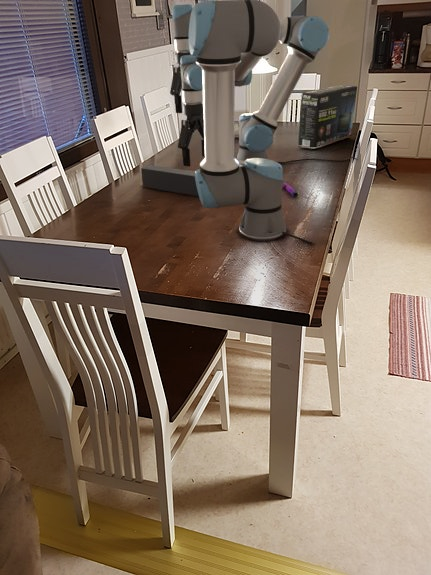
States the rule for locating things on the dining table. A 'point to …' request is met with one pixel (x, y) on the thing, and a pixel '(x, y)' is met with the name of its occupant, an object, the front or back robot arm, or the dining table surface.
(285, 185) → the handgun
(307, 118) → the router box
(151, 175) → the bar
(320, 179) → the dining table surface
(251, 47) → the front robot arm
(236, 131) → the fossil
